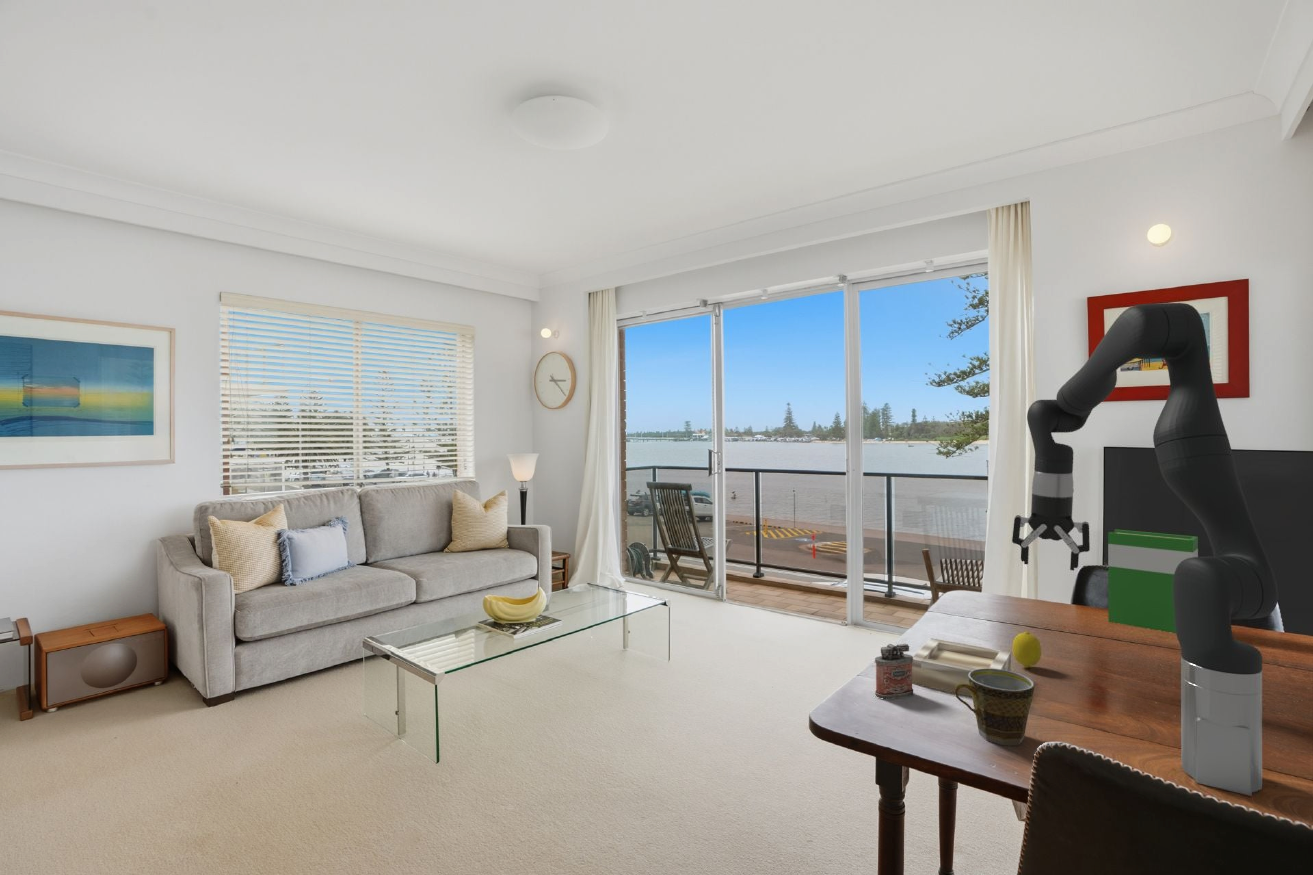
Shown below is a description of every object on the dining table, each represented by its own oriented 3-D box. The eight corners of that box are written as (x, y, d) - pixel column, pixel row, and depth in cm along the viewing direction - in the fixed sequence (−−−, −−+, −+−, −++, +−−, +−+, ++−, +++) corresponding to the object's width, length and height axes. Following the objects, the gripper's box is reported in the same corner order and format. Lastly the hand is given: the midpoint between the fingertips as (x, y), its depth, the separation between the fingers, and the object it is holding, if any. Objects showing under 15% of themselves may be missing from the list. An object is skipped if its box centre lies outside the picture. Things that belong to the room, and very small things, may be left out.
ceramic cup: (1012, 722, 117) (1012, 667, 116) (1047, 750, 107) (1047, 689, 106) (941, 725, 116) (941, 669, 116) (970, 752, 106) (969, 692, 106)
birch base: (996, 704, 125) (996, 675, 125) (911, 685, 135) (911, 658, 135) (1011, 678, 138) (1010, 652, 138) (931, 662, 148) (931, 638, 148)
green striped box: (1108, 621, 174) (1108, 532, 174) (1115, 616, 180) (1115, 529, 179) (1192, 636, 162) (1192, 540, 161) (1197, 630, 167) (1197, 536, 166)
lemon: (1045, 673, 139) (1045, 636, 139) (1017, 671, 140) (1017, 635, 140) (1035, 664, 145) (1035, 628, 144) (1008, 662, 146) (1008, 627, 146)
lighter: (881, 701, 127) (881, 649, 126) (871, 694, 130) (871, 644, 130) (917, 695, 129) (916, 645, 129) (906, 689, 132) (906, 640, 132)
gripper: (1013, 492, 140) (1010, 566, 141) (1092, 498, 132) (1088, 576, 134) (1015, 487, 146) (1012, 557, 148) (1091, 492, 139) (1088, 567, 140)
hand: (1048, 566), depth 141 cm, fingers open, 8 cm apart
